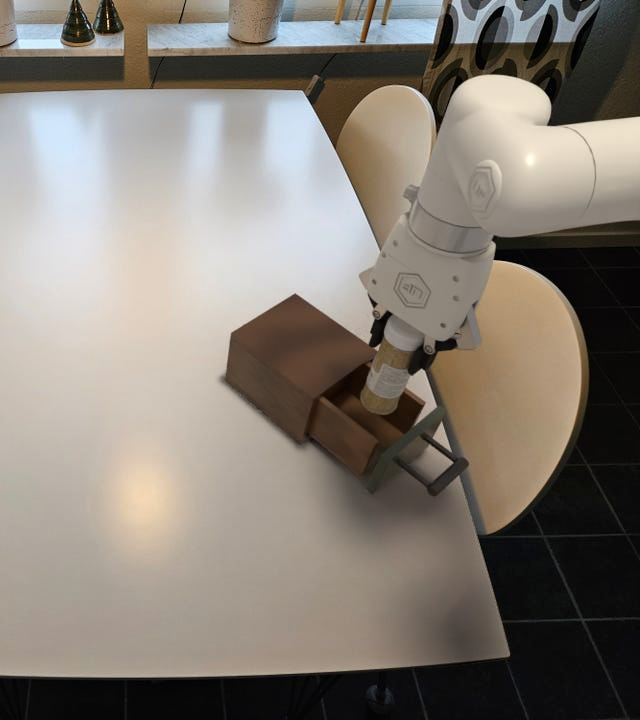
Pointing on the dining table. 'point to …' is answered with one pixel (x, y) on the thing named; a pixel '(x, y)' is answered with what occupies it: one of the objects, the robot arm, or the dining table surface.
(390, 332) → the sprinkles bottle
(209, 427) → the dining table surface
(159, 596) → the dining table surface
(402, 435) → the drawer
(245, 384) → the cabinet
